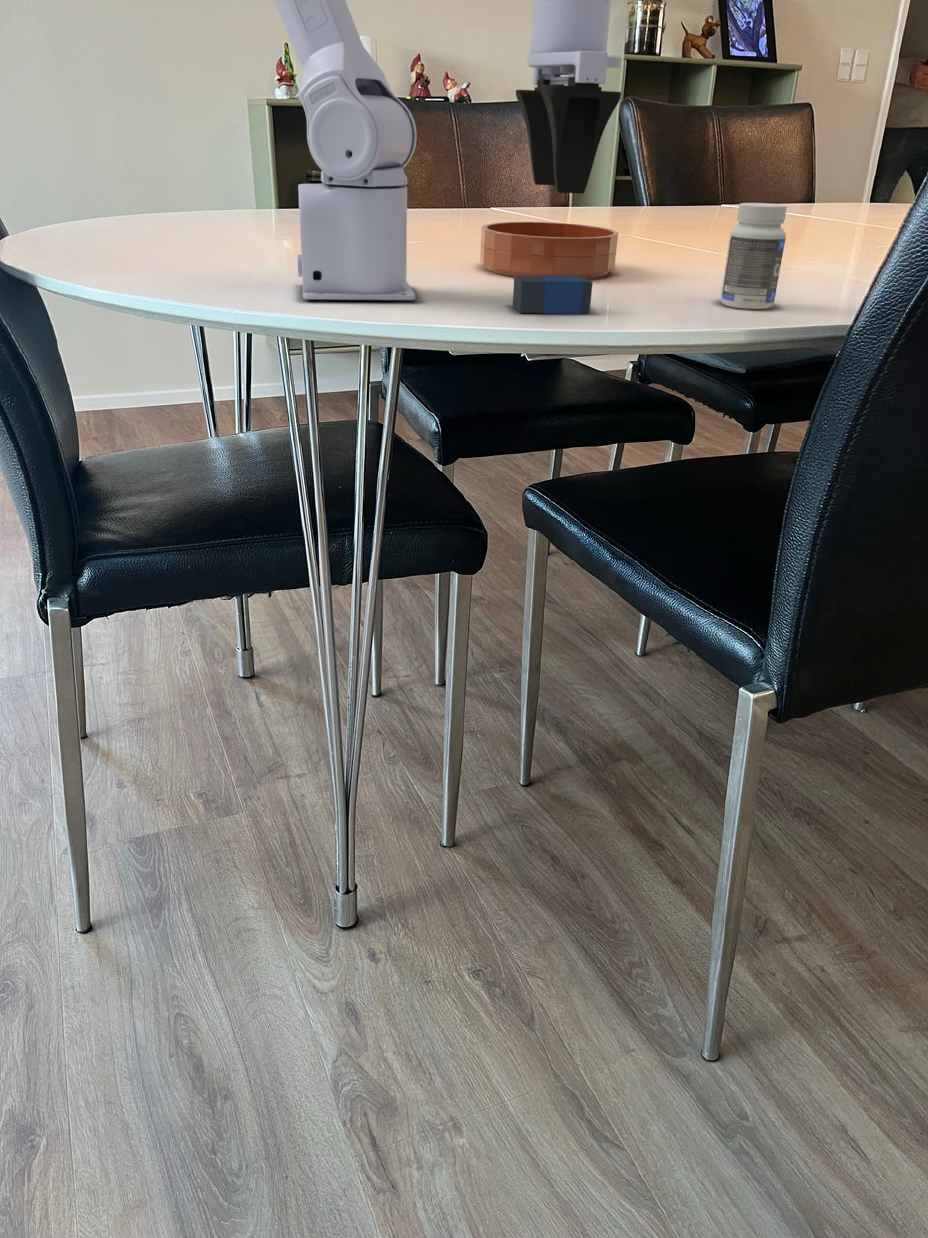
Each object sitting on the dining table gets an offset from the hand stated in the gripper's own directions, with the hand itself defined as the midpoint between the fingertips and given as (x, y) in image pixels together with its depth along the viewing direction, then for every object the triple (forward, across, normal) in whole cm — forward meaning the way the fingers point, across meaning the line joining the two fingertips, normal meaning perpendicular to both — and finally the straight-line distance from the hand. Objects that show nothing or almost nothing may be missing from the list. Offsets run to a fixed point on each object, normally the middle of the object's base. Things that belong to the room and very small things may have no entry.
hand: (558, 188), depth 77 cm
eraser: (+9, 0, 0) cm, 9 cm away
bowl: (+9, +22, -5) cm, 24 cm away
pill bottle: (+10, +3, -19) cm, 21 cm away
